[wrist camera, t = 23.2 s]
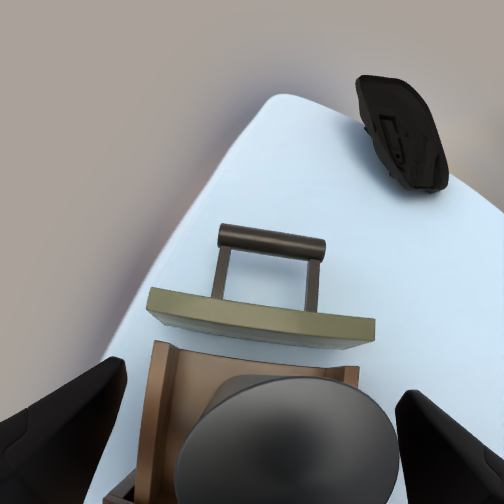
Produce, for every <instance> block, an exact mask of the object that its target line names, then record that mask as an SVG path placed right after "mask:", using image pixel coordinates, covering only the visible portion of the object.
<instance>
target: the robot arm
mask: <svg viewBox="0 0 504 504" xmlns="http://www.w3.org/2000/svg"><path fill="white" fill-rule="evenodd" d="M126 385H127V372H126V366H125V361H124V360H123V359H121V358H117V357H114V356H112V357H109V358H108V359H106V360H104V361H103V362H101V363H99V364H98V365H96V366H95V367H93V368H91V369H90V370H88V371H87V372H85V373H83V374H82V375H80V376H78V377H77V378H75V379H74V380H72V381H70V382H68V383H67V384H65V385H64V386H62V387H60V388H59V389H57V390H55V391H54V392H52V393H51V394H49V395H47V396H46V397H44V398H42V399H40V400H39V401H38V402H36V403H34V404H32V405H30V406H29V407H28V408H25V409H24V410H22V411H20V412H19V413H17V414H15V415H13V416H12V417H10V418H8V419H6V420H4V421H2V422H0V504H83V503H84V500H85V497H86V495H87V492H88V489H89V487H90V484H91V481H92V479H93V476H94V474H95V471H96V469H97V466H98V464H99V461H100V459H101V456H102V454H103V451H104V449H105V447H106V444H107V442H108V439H109V437H110V435H111V432H112V430H113V427H114V425H115V422H116V419H117V415H118V412H119V409H120V405H121V402H122V398H123V395H124V392H125V389H126ZM395 417H396V426H397V436H398V444H399V452H400V458H401V463H402V468H403V474H404V480H405V486H406V492H407V499H408V504H504V460H503V459H502V458H501V457H499V456H498V455H497V454H495V453H494V452H493V451H491V450H490V449H489V448H488V447H487V446H485V445H483V443H482V442H480V441H479V440H478V439H477V438H476V437H474V436H473V435H472V434H471V433H470V432H468V431H467V430H466V429H465V428H464V427H462V426H461V425H460V424H459V423H457V422H456V421H455V420H454V419H453V418H451V417H450V416H449V415H448V414H447V413H445V412H444V411H443V410H442V409H440V408H439V407H438V406H437V405H436V404H434V403H433V402H432V401H431V400H430V399H428V398H427V397H426V396H425V395H424V394H422V393H421V392H420V391H419V390H407V391H406V392H405V393H404V394H403V396H402V397H401V399H400V401H399V402H398V404H397V405H396V408H395Z"/></svg>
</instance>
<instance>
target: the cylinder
mask: <svg viewBox="0 0 504 504" xmlns="http://www.w3.org/2000/svg"><path fill="white" fill-rule="evenodd" d="M399 460H400V455H399V444H398V440H397V436H396V433H395V430H394V428H393V425H392V423H391V421H390V420H389V418H388V416H387V415H386V413H385V412H384V411H383V409H382V408H381V407H380V406H379V405H378V404H377V403H376V402H375V401H374V400H373V399H372V398H371V397H369V396H368V395H367V394H365V393H364V392H362V391H361V390H359V389H357V388H355V387H353V386H351V385H349V384H347V383H344V382H341V381H337V380H334V379H330V378H324V377H319V376H283V375H239V376H235V377H233V378H230V379H229V380H227V381H225V382H224V383H223V384H222V385H221V386H220V387H219V388H218V389H217V391H216V392H215V394H214V395H213V397H212V399H211V400H210V402H209V403H208V405H207V407H206V408H205V410H204V411H203V413H202V414H201V416H200V417H199V419H198V421H197V422H196V424H195V425H194V427H193V428H192V430H191V431H190V433H189V435H188V436H187V438H186V439H185V441H184V443H183V445H182V448H181V450H180V452H179V455H178V459H177V463H176V467H175V477H174V481H175V492H176V496H177V500H178V504H386V503H387V502H388V500H389V498H390V496H391V494H392V492H393V489H394V486H395V483H396V480H397V475H398V471H399Z"/></svg>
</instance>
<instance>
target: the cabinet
mask: <svg viewBox="0 0 504 504" xmlns="http://www.w3.org/2000/svg"><path fill="white" fill-rule="evenodd" d="M135 479H136V468H135V469H134V470H133V471H132V472H131V473H130V474H129V475H128V476H127V477H126V478H125V479H123V480H122V481H121V482H120V483H119V484H118V485H117V486H116V487H115V488H114V489H113V490H111V491H110V492H109V493H108V494H107V495H106V496H105V497H104V498H103V503H102V504H137V503H134V494H135Z"/></svg>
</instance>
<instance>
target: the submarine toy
mask: <svg viewBox="0 0 504 504" xmlns="http://www.w3.org/2000/svg"><path fill="white" fill-rule="evenodd" d="M355 85H356V91H357V95H358V99H359V110H360V116H361V119H362V121H363V122H364V124H365V126H366V127H364V129H365V130H366V131H367V133H368V134H369V135H370V136H371V137H372V139H373V143H374V148H375V151H376V154H377V156H378V158H379V159H380V161H381V162H382V164H383V165H384V166H385V167H386V168H387V170H388V171H389V172H390V173H389V174H390V175H391V176H392V177H394V178H397V181H399V182H400V183H401V184H402V186H403V187H404V188H405V189H407V190H409V191H410V190H423V189H424V190H428V193H429V194H431V193H434V192H437V191H440V190H443V189H445V188H446V187H447V185H448V179H449V170H448V164H447V161H446V157H445V154H444V150H443V147H442V144H441V141H440V138H439V134H438V132H437V129H436V126H435V123H434V120H433V117H432V114H431V112H430V110H429V108H428V106H427V104H426V103H425V101H424V100H423V98H422V97H421V96H420V95H419V94H418V93H417V92H416V90H414V88H412V87H411V86H410V85H409V84H408V83H406V82H405V81H402V80H400V79H396V78H386V77H380V76H372V75H361V76H360V77H359V78H357V80H356V83H355Z"/></svg>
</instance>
